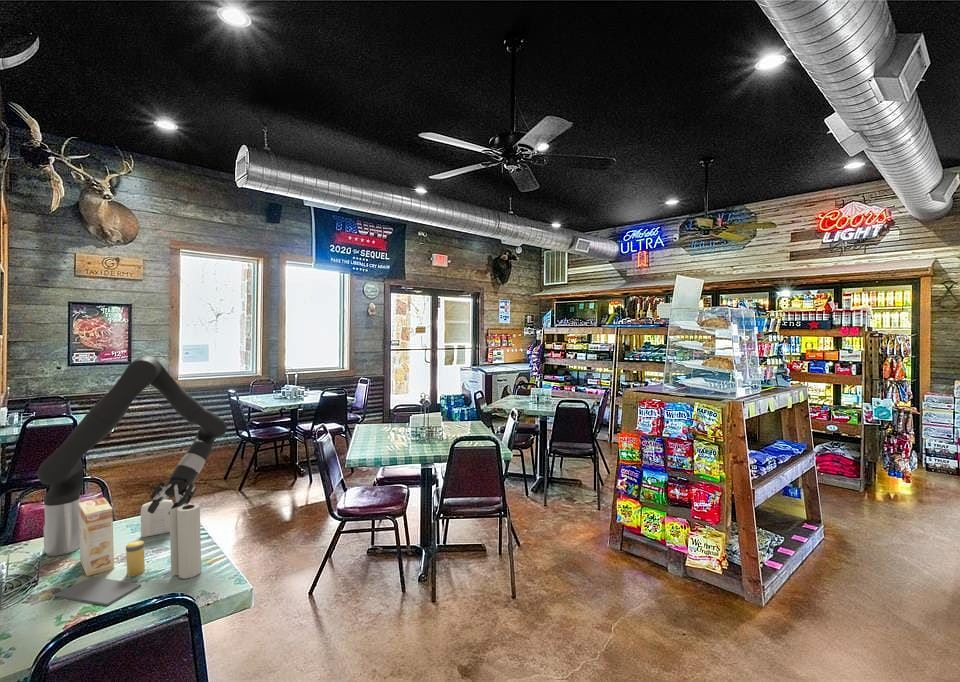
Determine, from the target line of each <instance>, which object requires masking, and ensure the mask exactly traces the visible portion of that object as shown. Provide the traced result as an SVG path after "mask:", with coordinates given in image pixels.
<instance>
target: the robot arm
mask: <svg viewBox="0 0 960 682" xmlns="http://www.w3.org/2000/svg"><path fill="white" fill-rule="evenodd" d="M119 377H120V378H119V379H118V380H117V381H116V383H115V384H114V386H113V387H112V388H111V389H110V390H109V391H108V392H106V394H104V395H103V396H102V397H101V398H100V400H98V401H97V403H95V404H94V405H93V406H92V408H91V409H89V411H88V412H87V413H86V414H85V415H84V417H83V418H82V419H81V420H80V421H79V423H78V424H77V426H75V427H74V429H73V430H72V431H71V433H70V434H68V436H67V438H66V439H65V440H64V441H63V442H62V444H60V445H59V446H58V448H56V449H55V450H54V452H52V453H51V454H50V455H49V456H48V457H47V458H46V459H45V460H44V461H42V463H40V465H39V467H38V470H37V475H36V476H37V479H38V480H39V482H40V483H41V484H43V485H47V486H50V487H49V489H48V491H47V492H46V493H45V495H44V497H43V501H44V502H43V503H44V505H43V506H44V524H43V528H42V529H43V549H44V550H43V552H44V553H45V554H46V556H48V557H56V556H62V555H63V556H64V555H67V554H69V553H73V552H75V551H77V550H80V541H79V505H78V503H79V502H81V492H82V490H83V484H84V483H83V481H84V480H83V478H84V476H83V475H84V467H83V466H84V465H83V460H82V458H83V456H85V454H87V453H88V451H90V450H91V449H92V448H93V447H95V446H97V445H98V443H100V442H101V441H102V440H103V439H105V438H106V437H107V436H108V435H109V434H110V433H111V432H112V430H114V429H115V427H116V426H117V425H118V424H119V423H120V421H122V419H123V418H124V416H125V415H126V413H127V411H128V410H129V408H130V406H131V404H132V403H133V401H134V400H135V399H136V398H137V397H138V396H139V395H140V394H141V393H142V392H143V390H145V389H146V388H147V387H148V386H149V385H151V386H152V387H154V388H155V389H156V390H157V391H158V392H160V393H161V395H163V397H164V398H165V400H167V403H168V404H169V405H170V406H171V407H172V409H173V410H174V411H175V412H176V413H177V414H178V415H179V416H181V417H182V418H183V419H184V420H185V421H186V422H188V423H189V424H191V425H197V426H199V427H200V428H199V429H198V431H197V433H196V435H195V437H194V440H193V442H192V444H191V445H190V447H189V448H188V450H187V451H186V453H185V454H184V456H183V457H181V459H180V461H178V463H177V465H176V467H175V468H174V470H173V472H172V473H171V475H170V477H169V479H170V480H169V481H168V482H167V483H165V482H163V481H160V482H159V483H158V484H157V486H156V487H155V488H154V490H153V491H152V493H151V494H150V496H149V498H150V499H151V500H152V501H153V502H152V501H151V502H152V503H151V505H150V506H149V508H148V512H149V513H152V514H153V513H154V512H155V510H156V509H157V507H158V505H159V504H160V502H161V501H163V500H168V499H169V498H175V502H173V506H172V508H171V509H173V508H176V507H179V506H183V505H187V504H190V502H191V500H192V498H193V496H194V494H195V493H196V491H197V487H196V486H195V485H193V484H194V483H195V480H196V479H197V477H198V476H199V474H200V472H201V470H202V469H203V467H204V465H205V463H206V461H207V460H208V458H209V457H210V455H211V453H212V452H213V444H214V442H215V441H216V439H218V438H221V437H222V436H224V435H225V434H226V432H227V430H228V427H227V424H226V422H225V420H224V419H223V418H221V417H220V416H219V415H217V414H216V413H213V412H212V411H210V410H207V409H206V408H205V407H204V406H203V405H202V404H200V402H198V401H197V400H196V399H195V398H194V397H192V395H191V394H189V393H188V392H187V391H186V390H185V389H184V388H183V387H182V386H181V385H180V384H179V383H178V382H177V381H176V380H175V379H174V378H173V376H171V374H169V372H168V371H167V369H166V368H165V367H164V365H163V364H162V363H161V362H160V360H158V359H157V358H155V357H154V356H149V355H143V356H140V357H138V358H135V360H133V361H131V362H130V363H129V364H128V365H127V367H126V368H125V370H124V372H123V373H122V374H121V376H119ZM168 514H169V515H170V511H169V513H168Z"/></svg>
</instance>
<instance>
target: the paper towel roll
mask: <svg viewBox="0 0 960 682" xmlns="http://www.w3.org/2000/svg"><path fill="white" fill-rule="evenodd" d="M169 537H170V538H169V539H170V545H169V547H170V576H171V577H174V576H176V575H178V577H179V579H184V580H185V579H190V578H194V577H197V576H198V575H199V574H200V573H201V572H202V548H201V547H202V545H201V544H202V543H201V541H202V538H201V505H200V504H199V503H188V504H183V505H181V506H179V507H176V508H173V509H170V532H169Z"/></svg>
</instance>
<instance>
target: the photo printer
mask: <svg viewBox="0 0 960 682" xmlns="http://www.w3.org/2000/svg"><path fill="white" fill-rule="evenodd" d="M152 502H153V500H152V501H149V502H146V503H144V504H142V505H141V509H140V537H141V538H146V537H147V538H148V537H153V536H157V535H161V534H167V533H170V515H169V514H168V513H169V511H170V509H171V508H172V506H173V504H174V502H173V500H172V499H164V500H163V501H161V502H160V504H159V505H158V507H157V509H156V510H155V512H154V513H153V514H152V513H149V512H148V508H149V506H150V505H151V503H152Z"/></svg>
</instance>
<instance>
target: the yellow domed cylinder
mask: <svg viewBox="0 0 960 682" xmlns="http://www.w3.org/2000/svg"><path fill="white" fill-rule="evenodd" d="M125 551H126V553H125V554H126V575H127V576H128V577H134V576H138V575H141V574H143V573H144V572H145V569H146V568H145V567H146V566H145V565H146V564H145V541H144V540H135V541H132V542H130V543H128V544H126V546H125Z"/></svg>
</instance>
